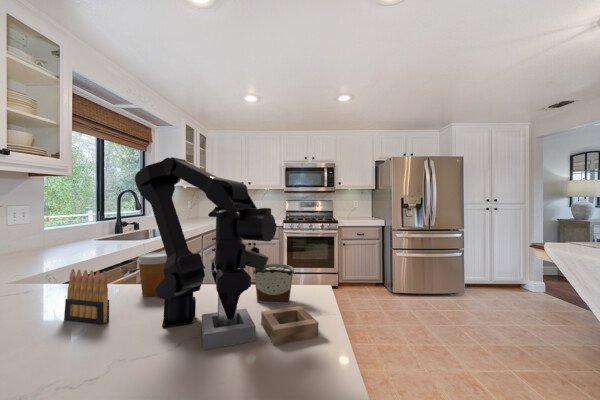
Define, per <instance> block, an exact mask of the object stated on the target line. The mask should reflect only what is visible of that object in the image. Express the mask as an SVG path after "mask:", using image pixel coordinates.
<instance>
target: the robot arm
mask: <svg viewBox="0 0 600 400" xmlns="http://www.w3.org/2000/svg"><path fill="white" fill-rule="evenodd" d="M181 180H183V181H184V182H186V183H187V184H190V185H191V186H193V187H195V188H197V189H199V190H201V191H202V192H203V193H205V196H206V198H207V199H208V200H209V201H210V202H211V203H213V205H215V207H214V208H213V210H211V211H209V213H208V217H209V218H215V241H214V250H215V251H214V257H213V258H212V260H211V261H210V270H211V271H210V272H211V275H212V278H213V281H214V283H215V290H216V293H217V294H218V295H219V298H220V300H221V303H222V306H223V308H224V311H225V313H226V316H227V319H228V320H230V319H233V318H234V314H235V311H236V307H237V308H238V303H239V299H240V296H241V294H243V293H244V292H245V291H248V290H249V288H251V286H252V276H251V275H250V273H248V271H246V270H245V269H247V268H246V267H250V268H253V269H254V268H256V269H258V270H259V271H264V269H265V267H266V264H268V261H269V257H268V256H267V255H265V254H264V253H260V248H259V247H256V246H254V245H251V246H250V247H249V248H247V246H246V244H245V243H243V240H247V241H257V242H267V243H268V242H271V241H272V240H273V239H274V238H275V235H276V232H277V223H276V219H275V217H274V215H273V214H272V209H271V207H260V208H258V207H257V206H256V204H255V202H254V201H253V199H252V198H251V196H250V194H249V191H248V186H247V185H246V184H245V183H243V182H240V181H236V180H233V179H226V178H224V177H223V178H222V177H218V176H216V175H215V174H212V173H210V172H208V171H206V170H204V169H201V167H198V166H196V165H194V164H192V163H190V162H188V161H187V160H186V159H183V158H178V157H174V156H169V157H166V158H163V160H161V161H157V162H155V163H152V164H148V165H146V166H144V167H142V168H141V169H139V171H137V172H136V173H135V176H134V183H135V186H136V188H137V190H138V192H139V194H140V196H141V197H142V198H143V199H145V200H146V201H147V202H148V203H149V204H150V206H151V208H152V209H151V210H152V212H153V216H154V218H155V222H156V226H157V229H158V232H159V235H160V238H161V241H162V245H163V248H164V252H166V255H167V260H166V263H165V266H164V270H163V271H164V277H165V278H164V279H163V281H162V282H161V283H160V284H159V285H158V287H157V288H156V294H157V296H156V298H157V299H161V300H163V321H162V324H161V327H162V328H167V327H174V326H181V325H188V324H193V323H194V318H195V317H196V304H197V303H196V301H197V298H196V296H194V293H196V292H198V291H200V290H201V287H202V284H203V281H204V278H205V277H206V274H205V269H206V266H205V265H204V263H203V260H202V255H201V254H200V253H199V252H198V253H193V252H192V251H191V250H190V249H189V246H188V243H187V241H186V237H185V234H184V231H183V228H182V225H181V223H180V219H179V215H178V213H177V209H176V207H175V204H174V201H173V196H174V193H175V190H176V186H175V185H177V184H178V183H180V182H181ZM218 295H217V296H218Z"/></svg>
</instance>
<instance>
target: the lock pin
mask: <svg viewBox="0 0 600 400" xmlns="http://www.w3.org/2000/svg"><path fill="white" fill-rule="evenodd" d="M237 310H238V306H237V307H236V311H235V314H234V318H233V319H230V320H228V319H227V316H226V313H225V311H224V308H223V306H222V303H221V300H220V298H219V295H217V312H218V325H217V328H218V327H225V326H231V325H237Z"/></svg>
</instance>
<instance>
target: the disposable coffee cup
mask: <svg viewBox="0 0 600 400" xmlns="http://www.w3.org/2000/svg"><path fill="white" fill-rule="evenodd" d="M166 260H167V255H166V252H165V251H164V252H163V251H161V252H159V251H158V252H156V251H155V252H147V253H142V254H139V255H138V258H137V263H138V267H139V277H140V278H139V279H140V284H141V285H140V286H141V295H142V296H143V297H157V296H156V295H157V294H156V288H157V287H158V285H159V284H160V283H161V282H162V281H163V279H164V278H165V277H164V271H163V270H164V266H165V263H166Z"/></svg>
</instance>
